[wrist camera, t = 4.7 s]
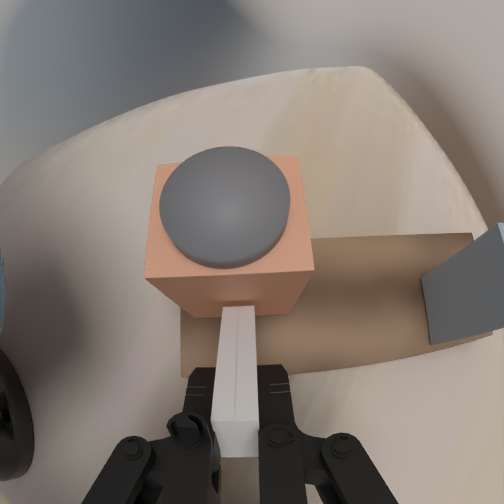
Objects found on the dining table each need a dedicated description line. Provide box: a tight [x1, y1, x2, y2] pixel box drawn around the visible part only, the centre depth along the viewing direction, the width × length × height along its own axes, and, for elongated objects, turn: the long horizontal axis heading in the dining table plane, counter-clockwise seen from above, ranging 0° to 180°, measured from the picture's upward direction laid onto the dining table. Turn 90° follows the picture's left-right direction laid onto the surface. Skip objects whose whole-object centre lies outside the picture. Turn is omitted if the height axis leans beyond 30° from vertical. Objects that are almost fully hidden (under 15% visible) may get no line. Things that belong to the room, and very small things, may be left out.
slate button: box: [421, 223, 504, 345], centre depth 14 cm, size 5×6×10 cm
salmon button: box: [144, 146, 314, 318], centre depth 15 cm, size 5×6×10 cm
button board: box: [181, 233, 493, 377], centre depth 20 cm, size 9×24×2 cm, turn 93°
